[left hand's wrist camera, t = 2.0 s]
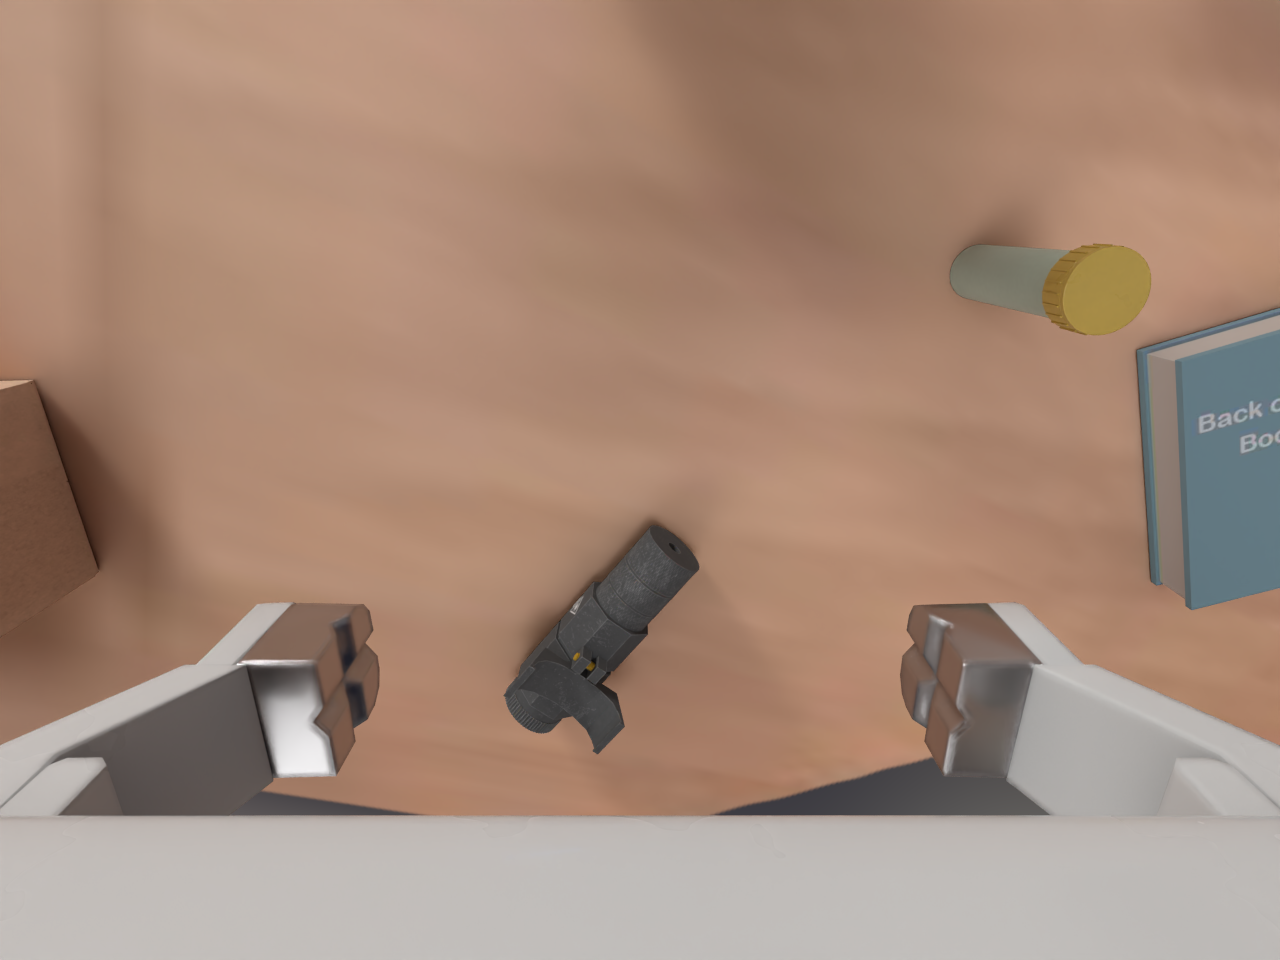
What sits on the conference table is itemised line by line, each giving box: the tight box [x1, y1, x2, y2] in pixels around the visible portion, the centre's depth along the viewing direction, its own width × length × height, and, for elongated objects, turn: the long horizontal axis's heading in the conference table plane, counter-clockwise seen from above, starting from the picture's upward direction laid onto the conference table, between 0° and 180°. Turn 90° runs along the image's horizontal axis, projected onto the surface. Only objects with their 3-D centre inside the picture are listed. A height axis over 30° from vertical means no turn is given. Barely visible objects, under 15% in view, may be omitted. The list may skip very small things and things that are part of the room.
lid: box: [1042, 244, 1151, 335], centre depth 40 cm, size 5×5×2 cm
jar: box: [950, 245, 1071, 318], centre depth 47 cm, size 4×4×16 cm
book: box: [1137, 308, 1280, 610], centre depth 57 cm, size 23×16×5 cm
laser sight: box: [504, 525, 699, 754], centre depth 61 cm, size 10×22×10 cm, turn 142°
